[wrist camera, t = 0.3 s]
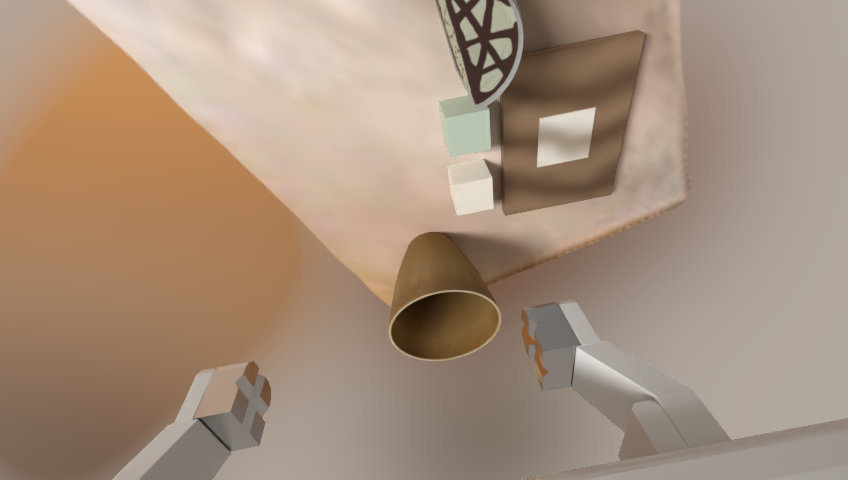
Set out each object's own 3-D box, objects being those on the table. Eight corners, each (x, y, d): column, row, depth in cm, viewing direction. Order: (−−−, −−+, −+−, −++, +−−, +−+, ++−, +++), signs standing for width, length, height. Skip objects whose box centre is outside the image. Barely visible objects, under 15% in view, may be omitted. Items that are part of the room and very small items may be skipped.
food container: (509, 60, 43) (539, 91, 36) (459, 81, 44) (478, 116, 36) (483, -70, 35) (514, -66, 28) (422, -41, 36) (436, -29, 29)
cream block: (447, 165, 51) (453, 185, 48) (483, 158, 51) (492, 177, 47) (451, 194, 55) (457, 215, 51) (484, 188, 55) (493, 208, 51)
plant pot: (487, 258, 64) (515, 338, 52) (410, 290, 67) (419, 372, 55) (455, 196, 55) (480, 275, 43) (367, 235, 58) (367, 320, 46)
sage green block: (438, 101, 45) (444, 118, 42) (479, 92, 45) (489, 109, 41) (443, 138, 49) (450, 157, 45) (481, 131, 49) (491, 149, 45)
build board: (499, 58, 43) (503, 63, 41) (637, 30, 42) (646, 33, 41) (502, 209, 57) (505, 216, 56) (605, 189, 57) (611, 195, 56)
